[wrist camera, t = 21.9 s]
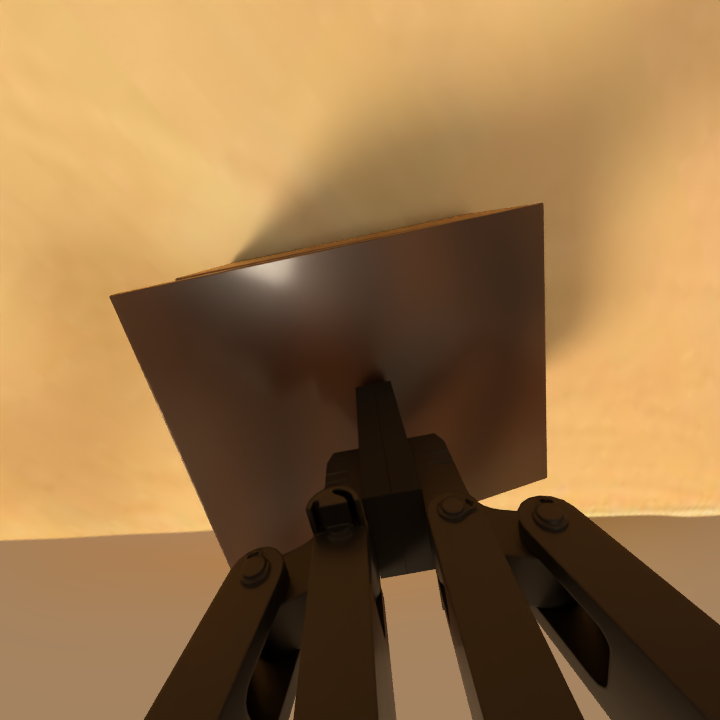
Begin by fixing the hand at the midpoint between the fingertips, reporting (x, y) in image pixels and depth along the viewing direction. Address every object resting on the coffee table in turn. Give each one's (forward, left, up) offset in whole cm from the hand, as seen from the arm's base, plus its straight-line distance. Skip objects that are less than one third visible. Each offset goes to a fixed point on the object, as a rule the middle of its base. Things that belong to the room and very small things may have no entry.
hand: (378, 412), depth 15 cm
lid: (0, 0, -1) cm, 1 cm away
